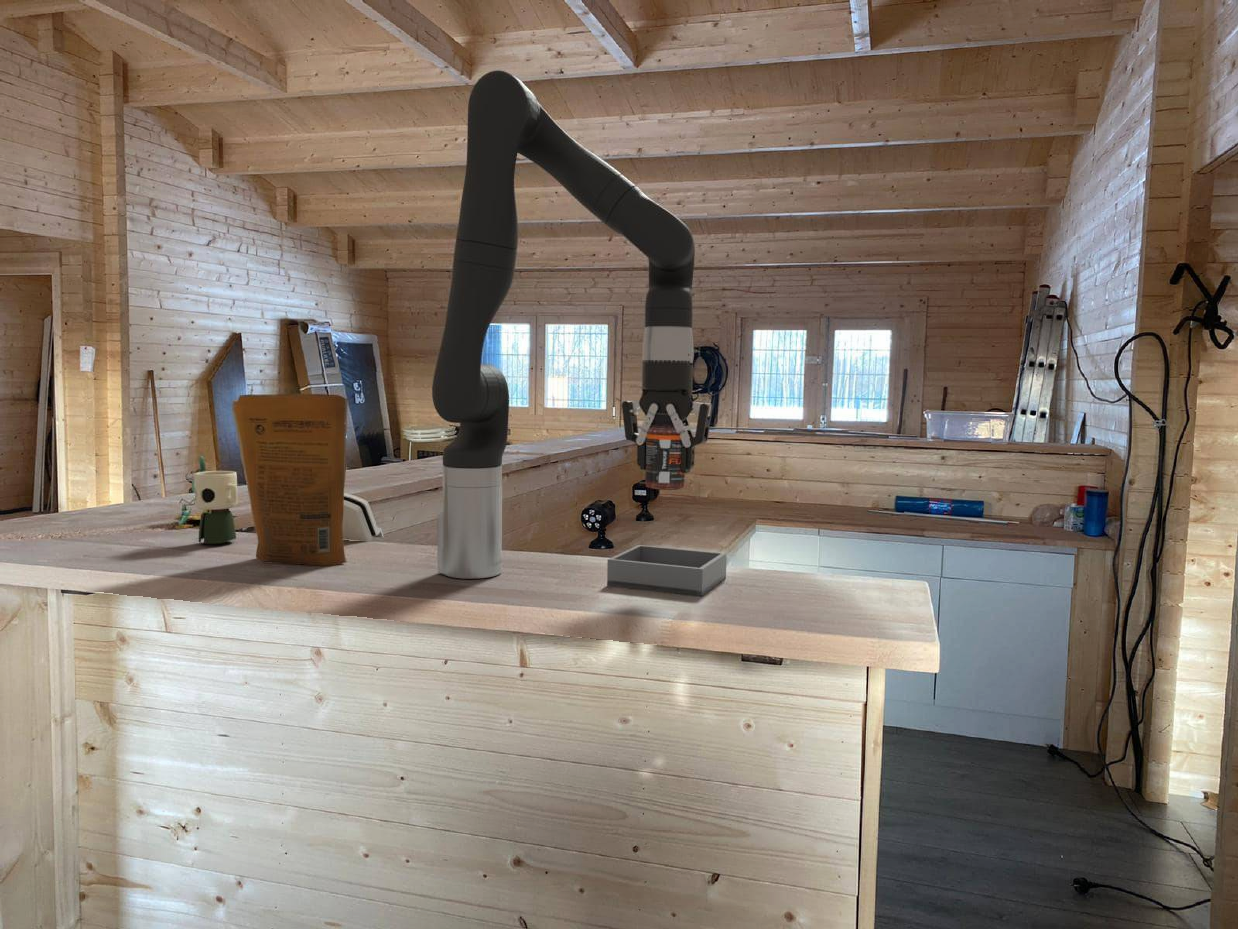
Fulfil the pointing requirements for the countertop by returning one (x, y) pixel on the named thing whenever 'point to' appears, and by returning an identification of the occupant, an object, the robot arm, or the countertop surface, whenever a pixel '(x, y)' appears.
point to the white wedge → (358, 520)
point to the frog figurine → (185, 512)
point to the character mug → (216, 505)
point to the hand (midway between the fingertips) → (665, 470)
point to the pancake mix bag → (295, 474)
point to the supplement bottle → (663, 455)
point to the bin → (667, 570)
